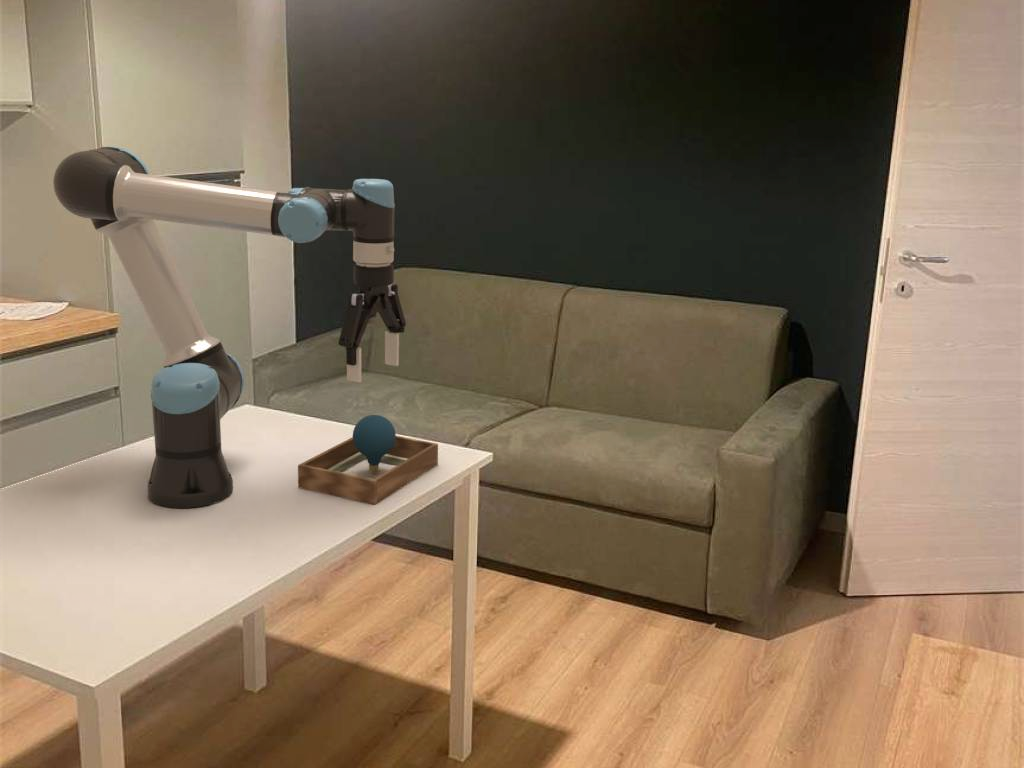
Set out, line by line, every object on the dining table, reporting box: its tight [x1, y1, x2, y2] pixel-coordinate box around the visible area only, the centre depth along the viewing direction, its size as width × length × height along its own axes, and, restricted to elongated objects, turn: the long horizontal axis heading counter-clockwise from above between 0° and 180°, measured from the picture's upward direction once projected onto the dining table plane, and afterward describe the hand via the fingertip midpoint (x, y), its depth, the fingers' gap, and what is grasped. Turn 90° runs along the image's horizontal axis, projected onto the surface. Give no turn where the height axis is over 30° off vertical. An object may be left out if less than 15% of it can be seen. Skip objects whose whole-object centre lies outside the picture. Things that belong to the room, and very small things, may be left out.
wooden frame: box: [297, 435, 439, 505], centre depth 207 cm, size 17×24×4 cm
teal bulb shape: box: [352, 414, 397, 475], centre depth 207 cm, size 8×8×12 cm
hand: (373, 372), depth 203 cm, fingers open, 13 cm apart
